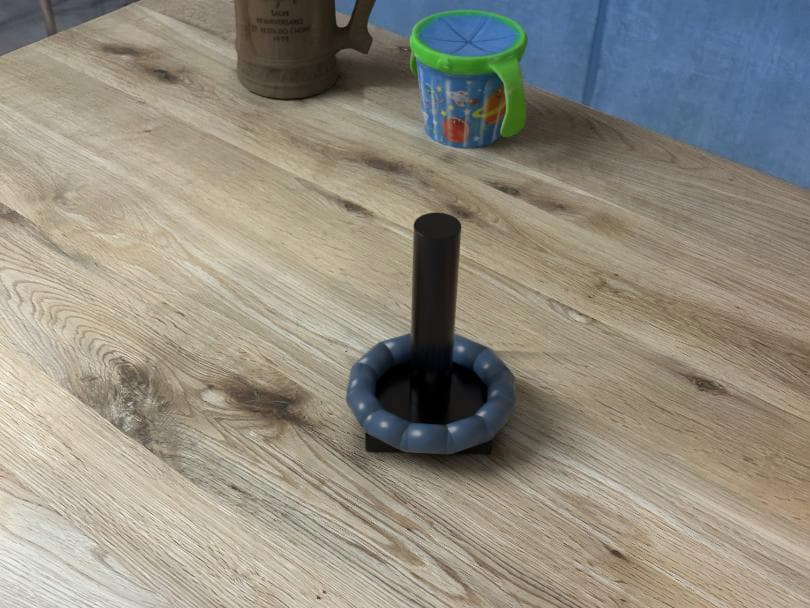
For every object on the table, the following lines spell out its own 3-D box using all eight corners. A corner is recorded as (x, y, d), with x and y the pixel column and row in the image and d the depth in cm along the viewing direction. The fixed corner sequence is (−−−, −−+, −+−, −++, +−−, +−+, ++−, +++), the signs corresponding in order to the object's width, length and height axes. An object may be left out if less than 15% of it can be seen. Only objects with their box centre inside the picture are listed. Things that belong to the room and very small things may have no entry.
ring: (514, 352, 80) (516, 331, 78) (514, 464, 72) (517, 443, 70) (356, 343, 80) (355, 322, 79) (339, 454, 72) (338, 432, 71)
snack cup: (379, 113, 107) (379, 9, 99) (469, 92, 110) (476, -10, 102) (454, 188, 98) (460, 80, 90) (550, 162, 101) (564, 56, 93)
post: (488, 372, 80) (506, 188, 69) (491, 455, 75) (512, 269, 63) (370, 369, 81) (369, 185, 69) (365, 451, 75) (362, 265, 63)
